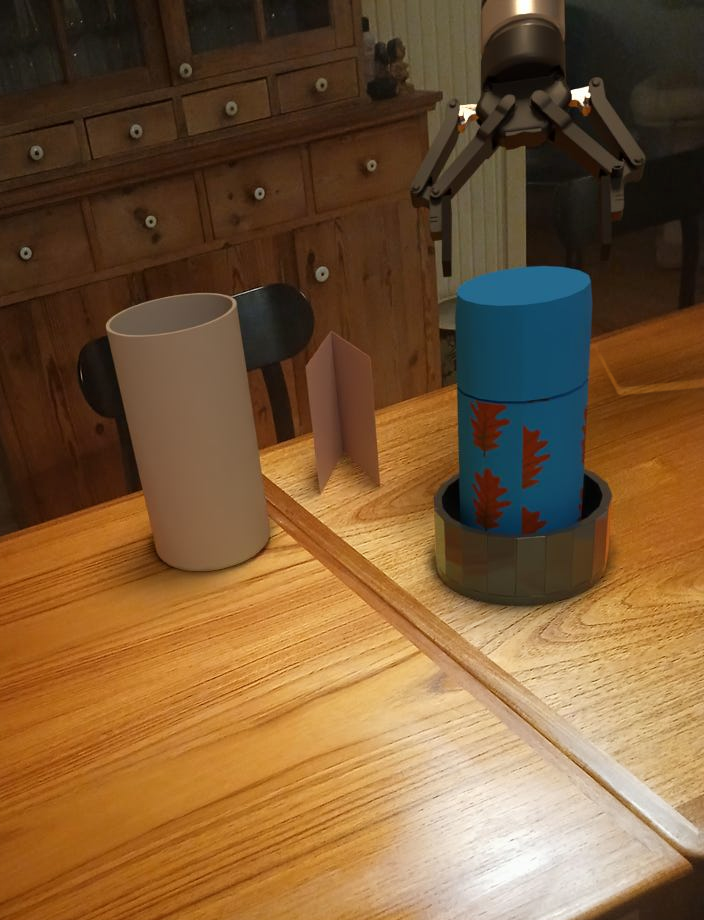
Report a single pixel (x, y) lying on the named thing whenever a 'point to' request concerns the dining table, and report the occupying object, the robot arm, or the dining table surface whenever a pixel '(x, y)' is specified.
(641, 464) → the dining table surface
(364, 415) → the greeting card
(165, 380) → the cylinder vase
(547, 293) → the thermos
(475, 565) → the faceted round dish
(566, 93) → the robot arm
